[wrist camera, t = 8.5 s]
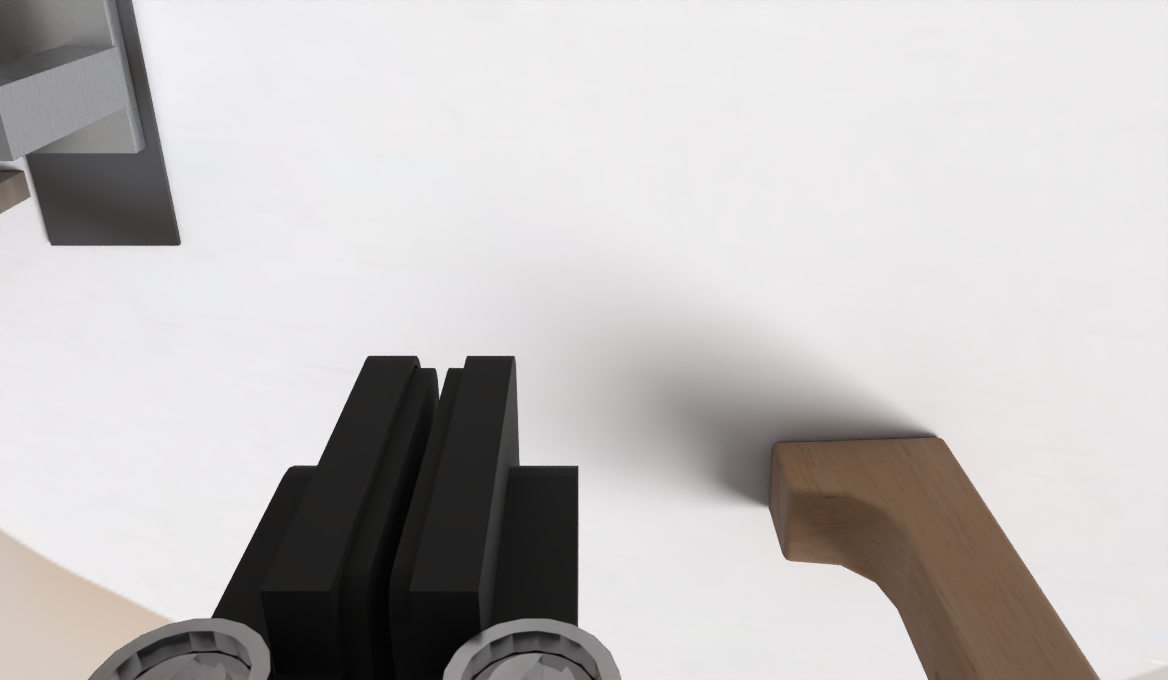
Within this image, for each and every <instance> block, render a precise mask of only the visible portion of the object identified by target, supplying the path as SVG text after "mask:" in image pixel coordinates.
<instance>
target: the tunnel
mask: <svg viewBox="0 0 1168 680" xmlns="http://www.w3.org/2000/svg"><path fill="white" fill-rule="evenodd" d="M115 4H116V8H117V13H118V18H119V23H120V27H121V32H122V37H123V42H124V46H125V51H126V56H127V61H128V65H129V70H130V75H131V80H132V84H133V89H134V94H135V99H136V103H137V108H138V113H139V118H140V122H141V127H142V132H143V137H144V141H145V146H146V148H144V149H142V150H141V151H139V152H137V153H28V154H27V157H28V161H29V165H30V168H31V172H32V176H33V179H34V183H35V187H36V191H37V194H38V198H39V202H40V205H41V209H42V213H43V217H44V220H45V224H46V228H47V231H48V235H49V239H50V243H51V246H179V245H180V244H181V241H180V236H179V231H178V226H177V221H176V217H175V212H174V207H173V202H172V197H171V192H170V187H169V182H168V177H167V172H166V167H165V162H164V158H163V153H162V148H161V143H160V138H159V133H158V128H157V123H156V118H155V113H154V108H153V103H152V99H151V94H150V89H149V84H148V79H147V74H146V69H145V64H144V59H143V54H142V49H141V44H140V39H139V35H138V30H137V25H136V20H135V15H134V10H133V5H132V0H115ZM29 197H31V196H30V193H29V189H28V185H27V182H26V178H25V174H24V171H0V214H1V213H2V212H4V211H6V210H8V209H10V208H11V207H13V206H15V205H17V204H18V203H20V202H22V201H24V200H26V199H27V198H29Z"/></svg>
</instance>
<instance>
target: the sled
mask: <svg viewBox="0 0 1168 680" xmlns="http://www.w3.org/2000/svg"><path fill="white" fill-rule="evenodd" d="M144 148H146V146H145V141H144V137H143V132H142V127H141V122H140V118H139V113H138V108H137V103H136V99H135V94H134V89H133V84H132V80H131V75H130V70H129V65H128V61H127V56H126V51H125V46H124V42H123V37H122V32H121V27H120V23H119V18H118V13H117V8H116V4H115V0H0V161H14V160H16V159H18V158H20V157H22V156H24V155H26V154H28V153H137V152H139V151H141V150H142V149H144Z"/></svg>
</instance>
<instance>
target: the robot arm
mask: <svg viewBox="0 0 1168 680" xmlns="http://www.w3.org/2000/svg"><path fill="white" fill-rule="evenodd" d="M88 680H621V677H620V673H619V670H618V668H617V666H616V663H615V661H614V659H613V657H612V655H611V653H610V651H609V650H608V649H607V648H606V647H605V646H604V645H603V644H602V643H601V642H600V641H599V640H598V639H597V638H596V637H595V636H593V635H591V634H590V633H588V632H586V631H584V630H582V629H580V628H578V466H519V439H518V410H517V381H516V362H515V356H467V358H466V361H465V365H464V368H449V369H448V371H447V375H446V378H445V382H444V385H443V389H442V393H441V396H440V400H439V389H438V378H437V372H436V369H435V368H421V366H420V362H419V359H418V357H417V356H368V357H367V359H366V361H365V363H364V365H363V367H362V369H361V371H360V374H359V376H358V378H357V380H356V382H355V385H354V387H353V389H352V391H351V393H350V395H349V398H348V400H347V402H346V404H345V406H344V408H343V411H342V413H341V415H340V417H339V419H338V422H337V424H336V426H335V428H334V430H333V432H332V435H331V437H330V439H329V441H328V443H327V445H326V448H325V450H324V452H323V454H322V456H321V459H320V461H319V463H318V465H317V466H293V467H290V468H289V469H288V470H287V472H286V473H285V474H284V476H283V478H282V480H281V482H280V484H279V486H278V488H277V490H276V491H275V493H274V495H273V497H272V499H271V501H270V503H269V505H268V507H267V509H266V511H265V513H264V515H263V517H262V519H261V521H260V523H259V525H258V527H257V529H256V531H255V533H254V535H253V537H252V539H251V541H250V543H249V545H248V547H247V549H246V550H245V552H244V554H243V556H242V558H241V560H240V562H239V564H238V566H237V568H236V570H235V572H234V574H233V576H232V578H231V580H230V582H229V584H228V586H227V588H226V590H225V592H224V594H223V596H222V598H221V600H220V602H219V604H218V606H217V607H216V609H215V611H214V613H213V615H212V617H211V618H206V619H191V620H187V621H182V622H177V623H172V624H168V625H165V626H163V627H160V628H158V629H156V630H153V631H151V632H148V633H146V634H143V635H141V636H139V637H138V638H136V639H134V640H133V641H131V642H130V643H128V644H127V645H125V646H123V647H122V648H120V649H119V650H117V651H115V652H114V653H113V654H112V655H111V656H110V657H109V658H108V659H107V660H106V661H105V662H104V663H103V664H102V665H101V666H100V667H99V668H98V669H97V670H96V671H95V672H94V673H93V674H92V675H91V677H90V678H89V679H88Z"/></svg>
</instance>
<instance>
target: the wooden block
mask: <svg viewBox="0 0 1168 680" xmlns="http://www.w3.org/2000/svg"><path fill="white" fill-rule="evenodd" d="M769 510H770V513H771V517H772V520H773V524H774V527H775V530H776V534H777V537H778V540H779V544H780V547H781V551H782V554H783V556H784V557H785V559H787V560H790V561H797V562H809V563H821V564H834V565H841V566H843V567H845V568H847V569H849V570H851V571H853V572H855V573H857V574H859V575H861V576H863V577H865V578H867V579H869V580H871V581H873V582H875V583H876V584H877V585H878V586H879V587H880V589H881V590H882V591H883V592H884V593H885V595H886V596H887V597H888V598H889V599H890V601H891V602H892V603H893V604H894V605H895V607H896V608H897V609H898V611H899V614H900V616H901V618H902V620H903V623H904V625H905V627H906V630H907V632H908V634H909V637H910V639H911V641H912V643H913V646H914V648H915V650H916V653H917V655H918V657H919V659H920V662H921V664H922V666H923V669H924V671H925V673H926V675H927V678H928V680H1100V679H1099V677H1098V676H1097V674H1096V673H1095V671H1094V670H1093V668H1092V667H1091V665H1090V663H1089V662H1088V660H1087V659H1086V657H1085V656H1084V654H1083V653H1082V651H1081V650H1080V648H1079V647H1078V645H1077V644H1076V642H1075V640H1074V639H1073V637H1072V636H1071V634H1070V633H1069V631H1068V630H1067V628H1066V627H1065V625H1064V624H1063V622H1062V621H1061V619H1060V618H1059V616H1058V614H1057V613H1056V611H1055V610H1054V608H1053V607H1052V605H1051V604H1050V602H1049V601H1048V599H1047V598H1046V596H1045V595H1044V593H1043V592H1042V590H1041V588H1040V587H1039V585H1038V584H1037V582H1036V581H1035V579H1034V578H1033V576H1032V575H1031V573H1030V572H1029V570H1028V569H1027V567H1026V565H1025V564H1024V562H1023V561H1022V559H1021V558H1020V556H1019V555H1018V553H1017V552H1016V550H1015V549H1014V547H1013V546H1012V544H1011V543H1010V541H1009V539H1008V538H1007V536H1006V535H1005V533H1004V532H1003V530H1002V529H1001V527H1000V526H999V524H998V523H997V521H996V519H995V518H994V516H993V515H992V513H991V512H990V510H989V509H988V507H987V506H986V504H985V503H984V501H983V499H982V498H981V496H980V495H979V493H978V492H977V490H976V489H975V487H974V486H973V484H972V483H971V481H970V480H969V478H968V477H967V475H966V473H965V472H964V470H963V469H962V467H961V466H960V464H959V463H958V461H957V460H956V458H955V457H954V455H953V454H952V452H951V451H950V449H949V448H948V446H947V445H946V443H945V441H944V440H943V439H941V438H937V437H930V438H901V439H872V440H843V441H814V442H785V443H777V444H775V445H774V448H773V450H772V465H771V482H770V498H769Z"/></svg>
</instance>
